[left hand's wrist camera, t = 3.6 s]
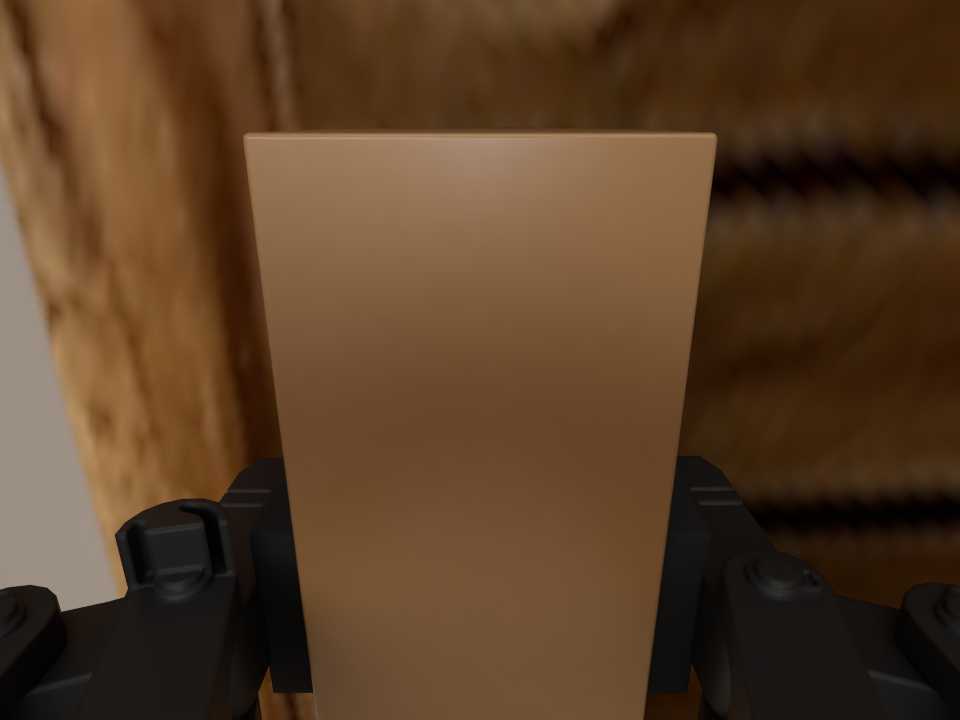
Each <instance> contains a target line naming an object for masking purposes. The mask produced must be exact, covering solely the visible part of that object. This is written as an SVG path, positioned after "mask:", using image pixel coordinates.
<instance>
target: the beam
mask: <svg viewBox="0 0 960 720" xmlns="http://www.w3.org/2000/svg"><path fill="white" fill-rule="evenodd" d="M243 142H244V150H245V157H246V165H247V173H248V181H249V189H250V197H251V205H252V213H253V220H254V228H255V236H256V244H257V252H258V260H259V268H260V276H261V283H262V291H263V299H264V307H265V315H266V323H267V331H268V339H269V347H270V354H271V362H272V370H273V378H274V386H275V394H276V402H277V410H278V417H279V425H280V433H281V441H282V449H283V457H284V465H285V473H286V481H287V488H288V496H289V504H290V512H291V520H292V528H293V536H294V544H295V551H296V559H297V567H298V575H299V583H300V591H301V599H302V607H303V615H304V622H305V630H306V638H307V646H308V654H309V662H310V670H311V678H312V685H313V693H314V701H315V709H316V717H317V720H644V712H645V704H646V696H647V689H648V681H649V673H650V665H651V657H652V649H653V641H654V634H655V626H656V618H657V610H658V602H659V594H660V586H661V579H662V571H663V563H664V555H665V547H666V539H667V531H668V524H669V516H670V508H671V500H672V492H673V484H674V476H675V469H676V461H677V453H678V445H679V437H680V429H681V421H682V414H683V406H684V398H685V390H686V382H687V374H688V366H689V359H690V351H691V343H692V335H693V327H694V319H695V311H696V304H697V296H698V288H699V280H700V272H701V264H702V256H703V248H704V241H705V233H706V225H707V217H708V209H709V201H710V193H711V186H712V178H713V170H714V162H715V154H716V146H717V135H716V134H714V133H712V132H685V131H658V130H631V129H604V128H357V129H330V130H302V131H275V132H249V133H247V134H244V138H243Z"/></svg>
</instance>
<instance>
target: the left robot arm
mask: <svg viewBox="0 0 960 720" xmlns="http://www.w3.org/2000/svg"><path fill="white" fill-rule="evenodd" d="M115 538H116V542H117V546H118V550H119V554H120V558H121V562H122V566H123V570H124V574H125V578H126V582H127V586H128V590H127V593H126V595H125V597H123V598H120V599H116V600H113V601H109V602H105V603H100V604H96V605H91V606H87V607H82V608H78V609H73V610H68V611H63V612H61V610H60V606H59V603H58V600H57V596H56V595H55V594H54V593H52V592H51V591H50V590H49V589H48V588H45V587H39V586H34V585H26V586H16V587H8V588H5V589H1V590H0V720H262V716H261V709H260V702H259V696H258V692H259V689H260V687H261V684H262V682H263V679H264V676H265V674H266V671H267V669H268V666H269V667H270V673H271V680H272V686H273V693H313V685H312V678H311V670H310V662H309V654H308V646H307V638H306V630H305V622H304V615H303V607H302V599H301V591H300V583H299V575H298V567H297V559H296V551H295V544H294V536H293V528H292V520H291V512H290V504H289V496H288V488H287V481H286V473H285V465H284V458H260V459H259V460H257V461H256V462H254V463H253V464H251V465H250V466H249V467H247V468H246V469H244V470H243V471H241V472H240V473H239V474H238V476H237V477H236V478H235V480H234V481H233V483H232V484H231V486H230V487H229V489H228V493H225V494H224V496H223V497H222V499H221V500H220V502H219V503H218V502H215V501H211V500H207V499H203V498H201V499H180V500H175V501H171V502H166V503H162V504H159V505H157V506H154V507H152V508H149V509H147V510H144V511H142V512H140V513H139V514H137V515H136V516H134V517H133V518H131V519H130V520H128V521H127V522H125V523H124V524H123V526H122V527H121V528H120V529H119V530H118V532H117V533H116V534H115ZM691 663H692V665H693V667H694V670H695V672H696V675H697V677H698V680H699V682H700V685H701V687H702V690H703V691H702V696H701V702H700V708H699V714H698V720H960V587H959V586H956V585H951V584H942V583H933V582H930V583H924V584H918V585H914V586H913V587H912V588H910V589H909V590H908V591H907V592H906V593H905V595H904V598H903V601H902V605H901V608H900V609H896V608H891V607H887V606H882V605H877V604H873V603H868V602H863V601H859V600H854V599H850V598H847V597H843V596H840V595H836V594H834V592H833V589H832V587H831V586H830V585H829V583H828V582H827V580H826V579H825V578H824V576H823V575H822V574H821V573H820V572H818V571H817V570H816V569H814V568H813V567H812V566H810V565H809V564H808V563H806V562H804V561H802V560H800V559H798V558H796V557H793V556H791V555H789V554H787V553H783V552H778V551H777V550H776V549H775V547H774V546H773V544H772V543H771V542H770V540H769V539H768V537H767V536H766V534H765V533H764V531H763V530H762V529H761V527H760V526H759V524H758V523H757V521H756V520H755V518H754V517H753V516H752V514H751V513H750V511H749V510H748V508H747V507H746V506H743V501H742V500H741V498H740V497H739V495H738V494H737V493H736V491H733V487H732V485H731V484H730V482H729V481H728V480H727V478H726V477H725V475H724V474H723V472H722V471H721V470H720V469H718V468H717V467H715V466H714V465H712V464H711V463H709V462H708V461H706V460H705V459H703V458H702V457H701V456H677V461H676V469H675V476H674V484H673V492H672V500H671V508H670V516H669V524H668V531H667V539H666V547H665V555H664V563H663V571H662V579H661V586H660V594H659V602H658V610H657V618H656V626H655V634H654V641H653V649H652V657H651V665H650V673H649V681H648V689H647V693H687V689H688V682H689V676H690V670H691Z"/></svg>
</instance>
